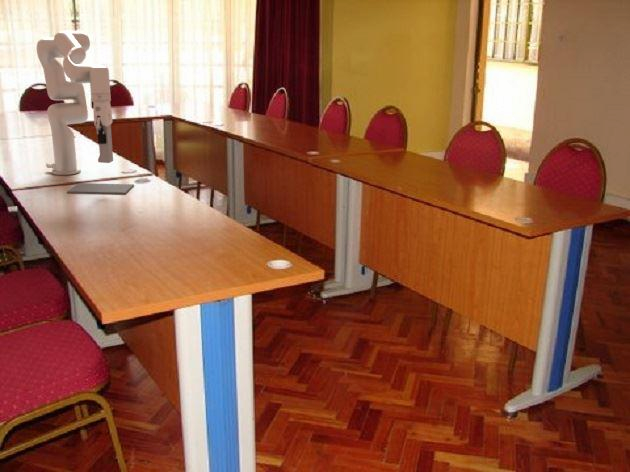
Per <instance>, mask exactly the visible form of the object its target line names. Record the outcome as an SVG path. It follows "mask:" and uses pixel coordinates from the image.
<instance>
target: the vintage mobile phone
mask: <svg viewBox="0 0 630 472" xmlns="http://www.w3.org/2000/svg"><path fill="white" fill-rule="evenodd" d="M100 126H103V125H100ZM95 129H96V132H97V128H96V127H95ZM102 130H103V128H102ZM96 134H97V133H96ZM105 134H106V144H99V143H98V148H99V149H98V150H99V156H98V159H97V161H98V163H101V164H102V163H103V164H110V163H112V162H114V154H113V153H114V152H113V151H114V150H113V138H112V124H110V125H109V126H107V127H105ZM97 136H98V134H97Z"/></svg>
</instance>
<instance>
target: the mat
mask: <svg viewBox="0 0 630 472" xmlns="http://www.w3.org/2000/svg"><path fill="white" fill-rule="evenodd" d="M134 186H135V184H134V183H133V184H131V183H127V184H125V183H121V184H120V183H95V182H94V183H91V182H89V183H85V182H84V183H83V182H78V183H76V184H74V185H73V186H72V187H71V188H70V189H68V190H67V191H66V194H86V195H87V194H89V195H90V194H91V195H92V194H93V195H127V193H128V192H130V191H131V189H133V188H134Z"/></svg>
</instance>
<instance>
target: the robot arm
mask: <svg viewBox="0 0 630 472" xmlns="http://www.w3.org/2000/svg"><path fill="white" fill-rule="evenodd" d="M90 46H91V40H90V38H89V36H88V35H87V33H86V32H84V31H80V30H62V31H58V32H57V33H55V34H54V36H53V37H45V38H41V39H40V40H38V41H37V44H36V54H37V58H38V60H39V62H40V64H41V66H42V69H43V73H44V79H45V86H46V87H45V88H46V91H47V92H46V93H47V96H48V97H49V99H50V100H53V101H68V100H69V101H72V102H61V103H54V104H51V105H50V106H48V108H47V112H46V113H47V114H46V115H47V117H48V122H49V125H50V130H51V131H50V132H51V139H52V140H51V141H52V149H53V159H54V160H53V161H54V162H53V163H51V162H46V164H45V166H46V168H48V169H51V173H52V174H53V175H57V176H58V175H59V176H70V175H75V174H76V175H77V174H79V173H81V172H82V171H81V168H80V167H77V154H76V144H75V143H76V142H75V141H76V140H75V135H74V132H73V130H72V129H71V128H70V127H69V126H68V125H76V124H84V123H86V122H87V121H88V118H89V113H88V106H87V105H88V104H87V99H86V91H85V88H84V85H83V84H89V86H90V87H89V88H90V98H91V100H90V101H91V102H93V123H94V126H95V129H96V128H97V131H96V134H98V135H97V143H98V145H99V144H106V134H105V127H107V126H109V125H110V124H111V125H112V124H113V114H112V106H111V101H112V98H111V96H112V95H111V85H110V83H111V82H110V71H109V67H107V66H104V65H102V64H98V63H92V64H91V63H90V64H89V63H88V64H87V63H86V64H85V63H83V62H84V60H85V59H86V57H87V56H86V55H87V53H86V52H87V51H89V49H90ZM61 58H62V59H63V61H62V64H61V63H60V61H59V60H58V59H61ZM81 63H83V64H81ZM100 125H103V126H100ZM102 128H103V130H102Z"/></svg>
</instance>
